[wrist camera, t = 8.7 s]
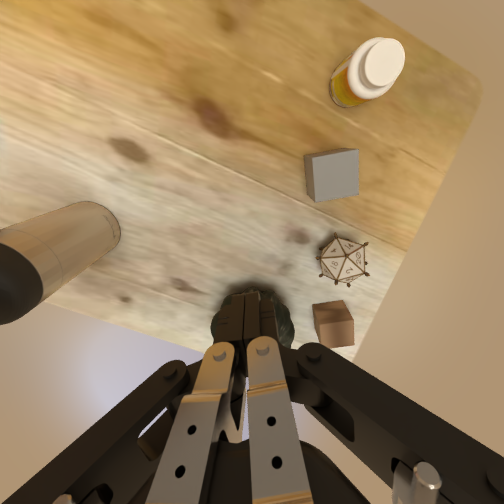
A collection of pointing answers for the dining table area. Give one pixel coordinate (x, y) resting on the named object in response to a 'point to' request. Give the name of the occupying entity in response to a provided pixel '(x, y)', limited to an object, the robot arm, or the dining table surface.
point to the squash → (281, 313)
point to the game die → (343, 260)
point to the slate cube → (332, 174)
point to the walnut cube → (333, 324)
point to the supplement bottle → (367, 72)
